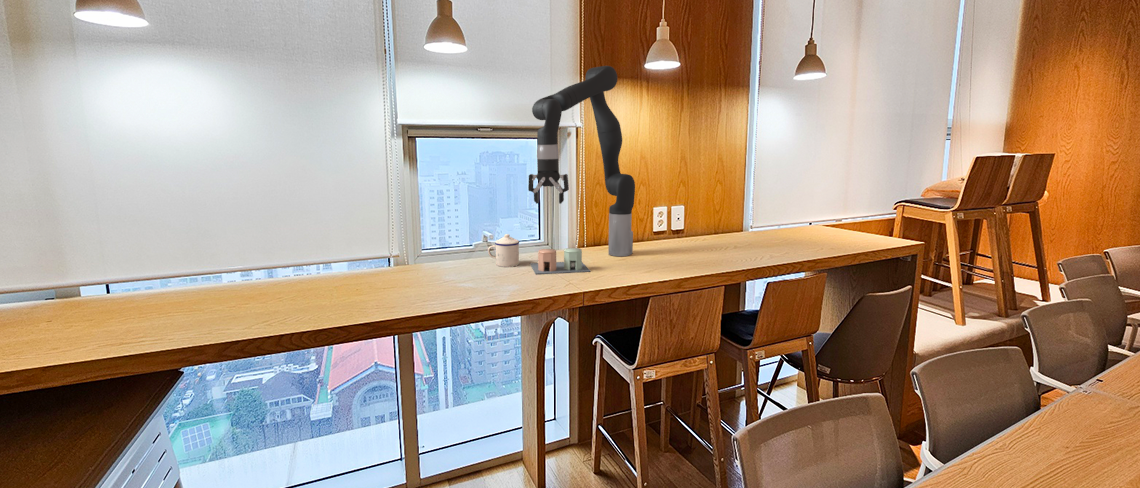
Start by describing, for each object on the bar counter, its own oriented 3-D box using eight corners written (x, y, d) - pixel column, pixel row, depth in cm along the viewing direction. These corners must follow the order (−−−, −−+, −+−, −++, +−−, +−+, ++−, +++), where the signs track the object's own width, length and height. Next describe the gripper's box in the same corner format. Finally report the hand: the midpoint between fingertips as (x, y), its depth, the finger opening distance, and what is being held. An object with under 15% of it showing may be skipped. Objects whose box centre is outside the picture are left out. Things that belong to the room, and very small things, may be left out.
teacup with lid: (521, 262, 213) (520, 232, 211) (517, 267, 204) (516, 236, 202) (491, 261, 214) (490, 232, 212) (485, 266, 205) (484, 236, 203)
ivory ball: (573, 266, 204) (573, 259, 203) (578, 268, 201) (578, 260, 201) (567, 268, 202) (567, 260, 201) (572, 269, 200) (572, 261, 199)
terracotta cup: (548, 266, 204) (548, 248, 203) (559, 269, 200) (559, 250, 198) (534, 269, 200) (534, 250, 199) (546, 272, 195) (546, 253, 194)
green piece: (573, 265, 206) (573, 247, 205) (585, 268, 202) (585, 249, 200) (560, 268, 202) (560, 249, 200) (572, 271, 197) (572, 252, 196)
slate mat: (581, 262, 213) (581, 261, 213) (590, 271, 198) (590, 270, 198) (530, 264, 210) (530, 263, 210) (535, 274, 194) (535, 273, 194)
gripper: (569, 157, 196) (570, 202, 199) (530, 157, 198) (532, 201, 201) (565, 158, 189) (566, 205, 192) (525, 158, 191) (527, 204, 194)
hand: (548, 203), depth 197 cm, fingers open, 8 cm apart
